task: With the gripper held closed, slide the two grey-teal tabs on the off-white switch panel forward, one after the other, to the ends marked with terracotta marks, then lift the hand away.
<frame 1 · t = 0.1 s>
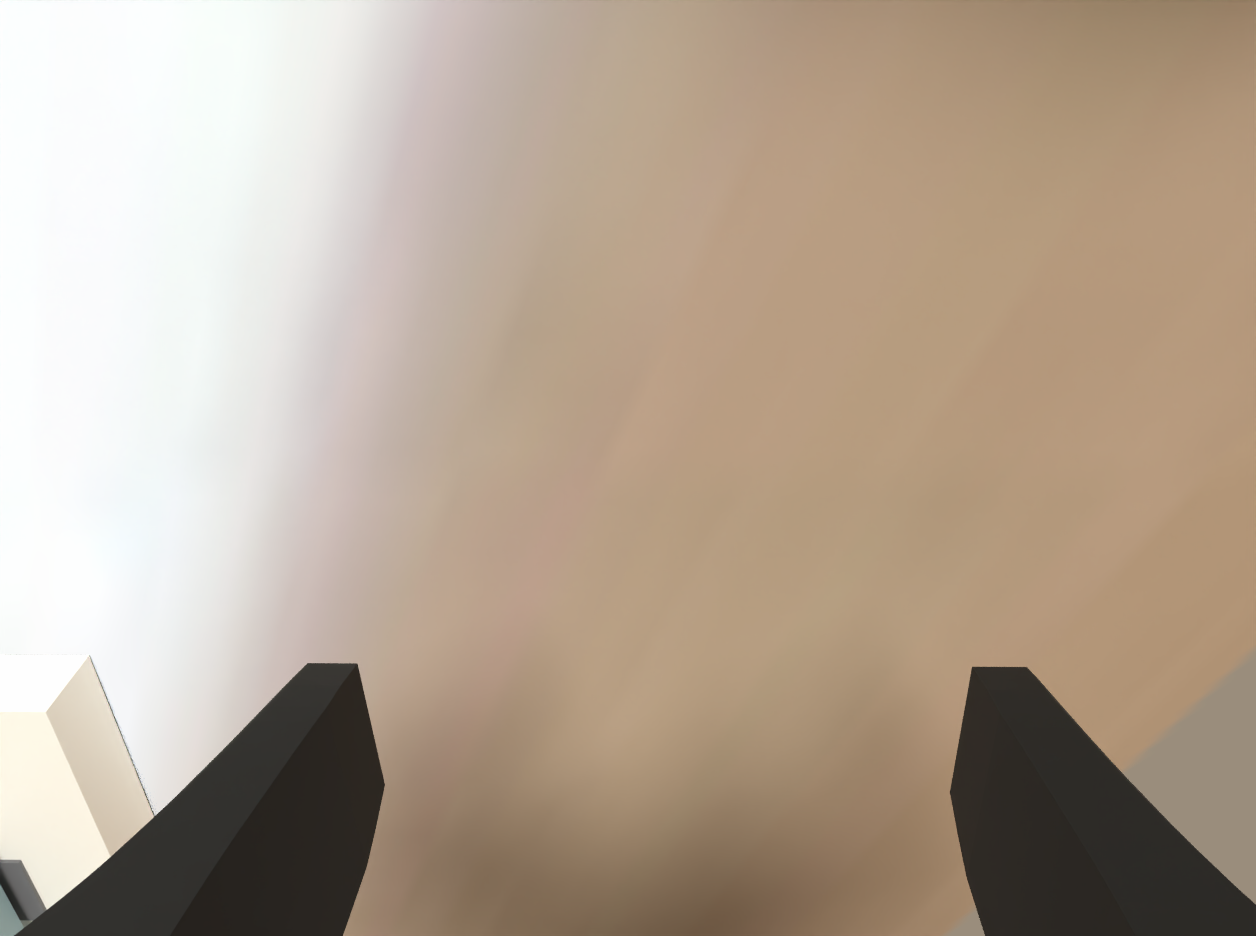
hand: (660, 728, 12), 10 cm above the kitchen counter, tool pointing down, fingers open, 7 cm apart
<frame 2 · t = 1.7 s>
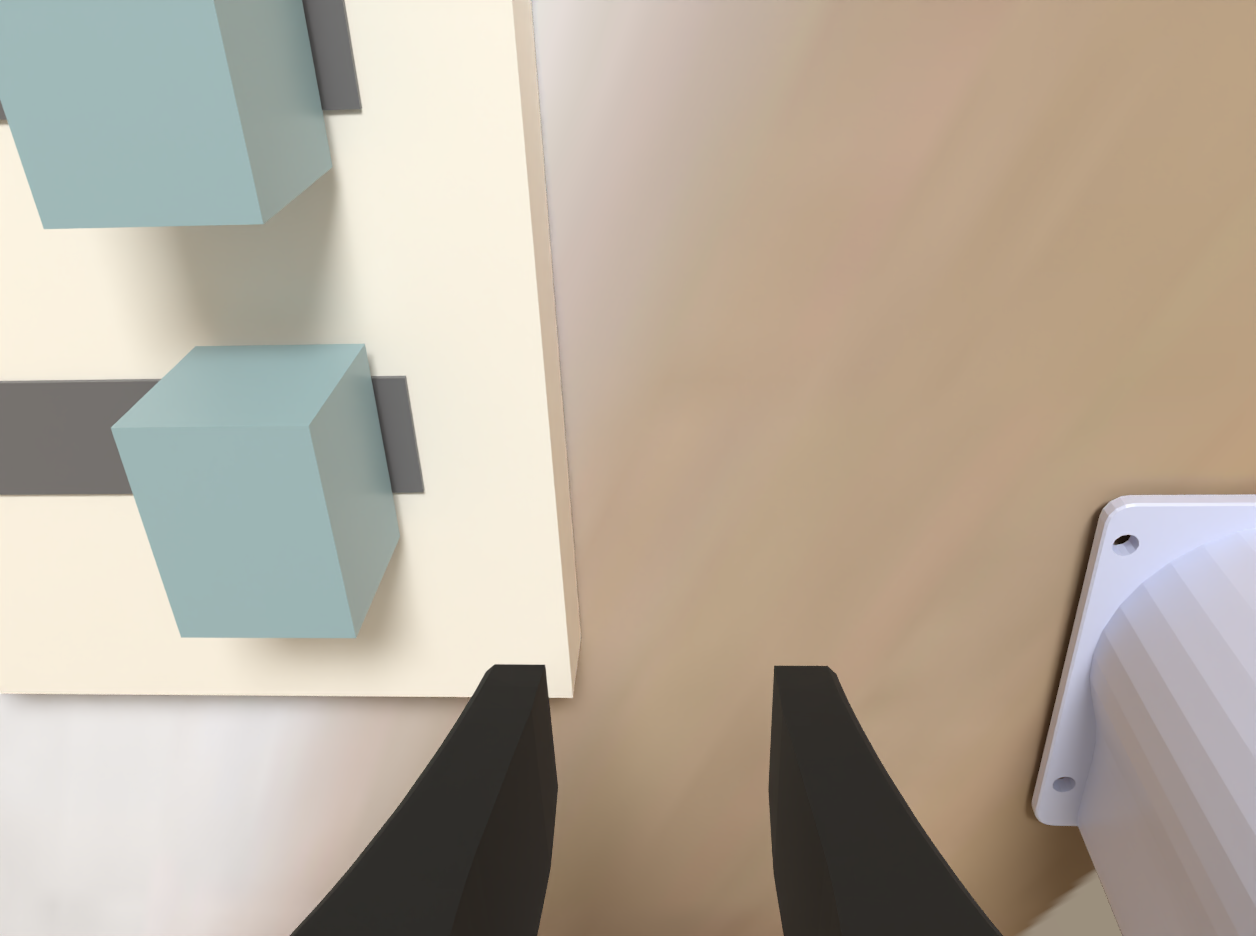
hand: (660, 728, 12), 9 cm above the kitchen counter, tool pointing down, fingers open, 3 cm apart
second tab: (162, 47, 14), point 4 cm above the kitchen counter, slide at 0.0 cm
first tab: (274, 489, 17), point 4 cm above the kitchen counter, slide at 0.0 cm
switch panel: (176, 221, 19), on the kitchen counter
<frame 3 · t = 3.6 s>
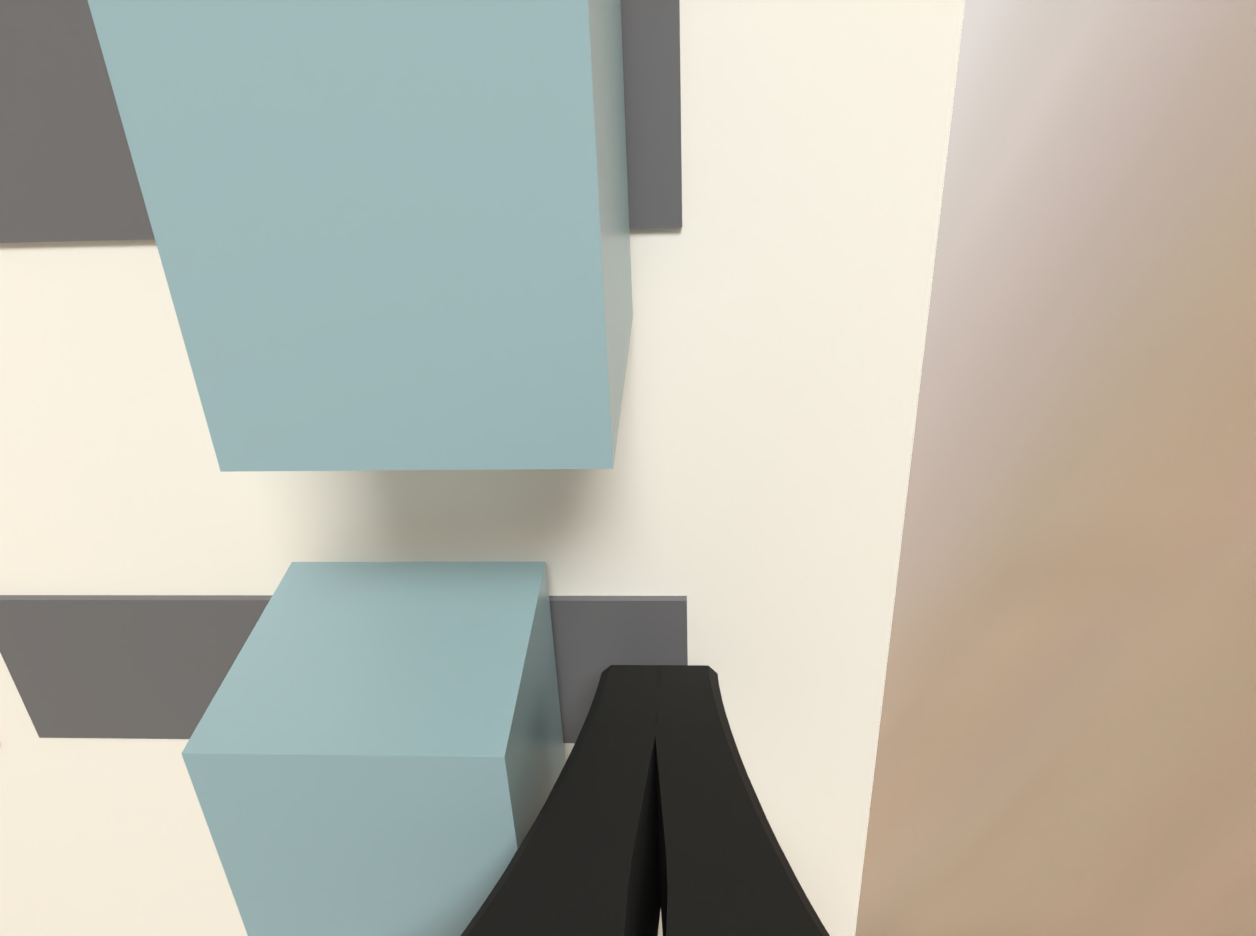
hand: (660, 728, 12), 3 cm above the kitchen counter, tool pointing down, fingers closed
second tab: (422, 151, 8), point 4 cm above the kitchen counter, slide at 0.0 cm
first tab: (412, 782, 11), point 4 cm above the kitchen counter, slide at 1.1 cm, touching gripper
switch panel: (339, 360, 13), on the kitchen counter
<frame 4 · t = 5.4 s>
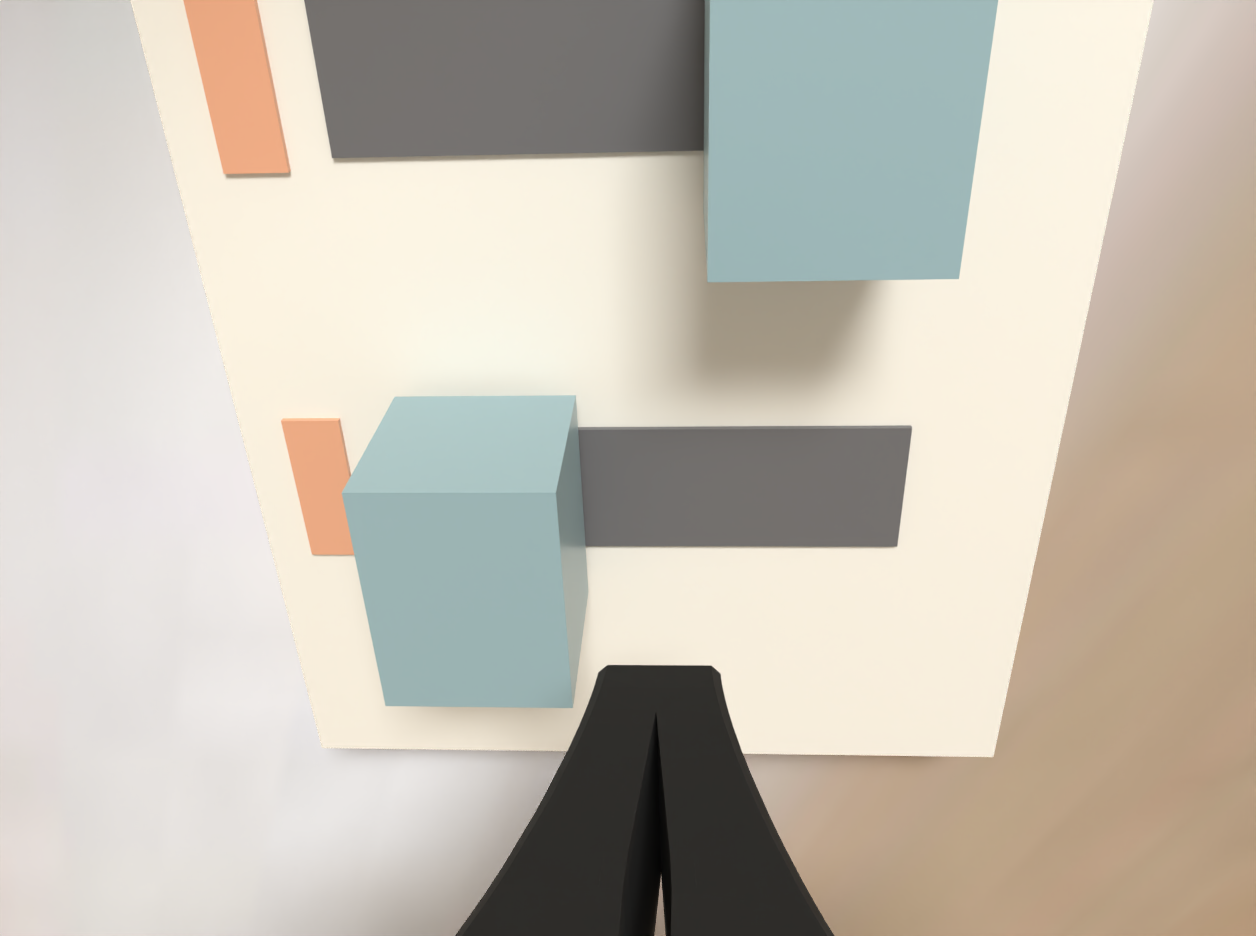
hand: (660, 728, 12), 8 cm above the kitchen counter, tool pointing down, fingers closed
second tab: (828, 83, 12), point 4 cm above the kitchen counter, slide at 0.0 cm
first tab: (481, 548, 16), point 4 cm above the kitchen counter, slide at 5.1 cm
switch panel: (643, 257, 18), on the kitchen counter
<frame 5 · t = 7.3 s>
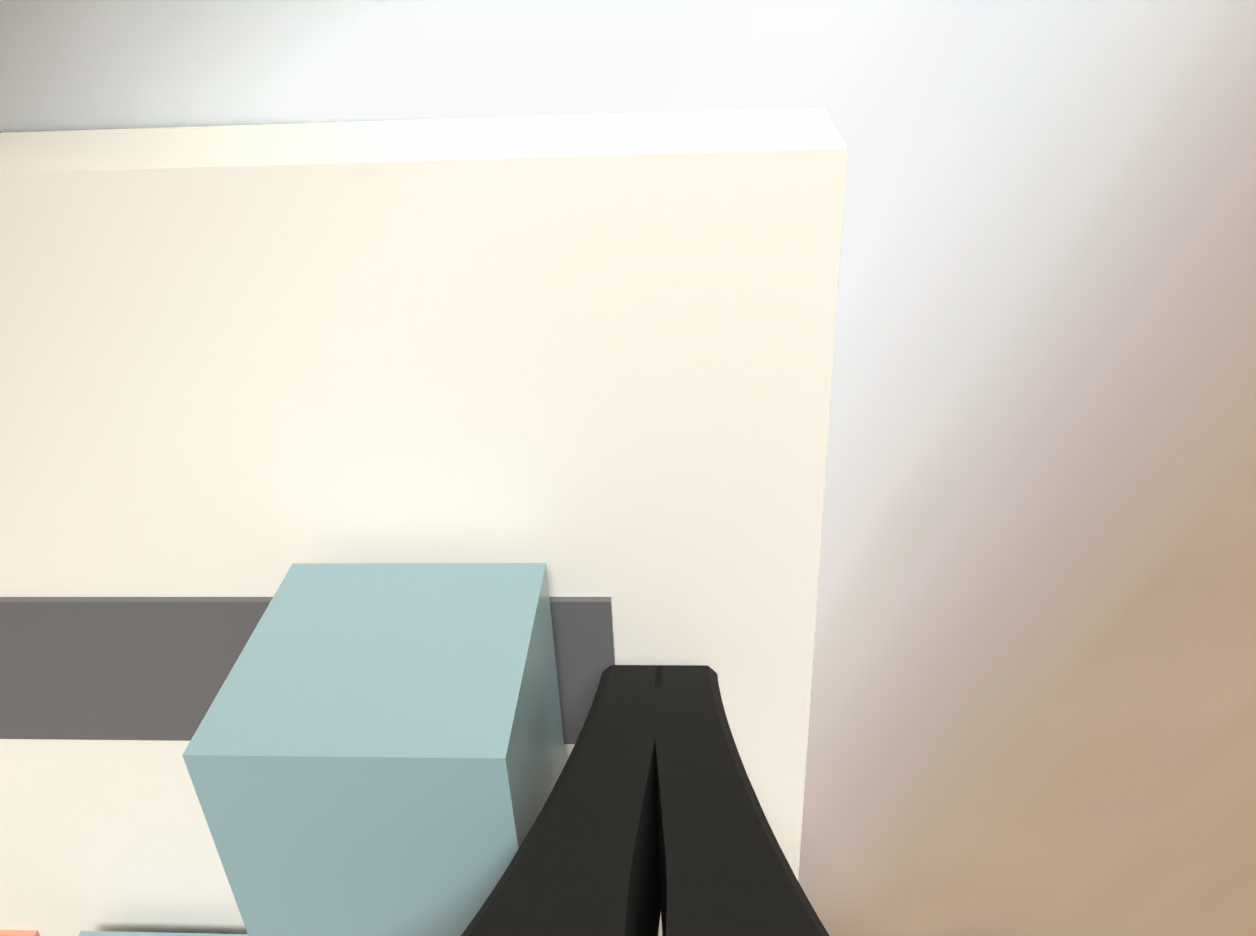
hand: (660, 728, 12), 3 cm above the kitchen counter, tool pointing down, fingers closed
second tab: (413, 783, 11), point 4 cm above the kitchen counter, slide at 0.2 cm, touching gripper
switch panel: (362, 748, 17), on the kitchen counter
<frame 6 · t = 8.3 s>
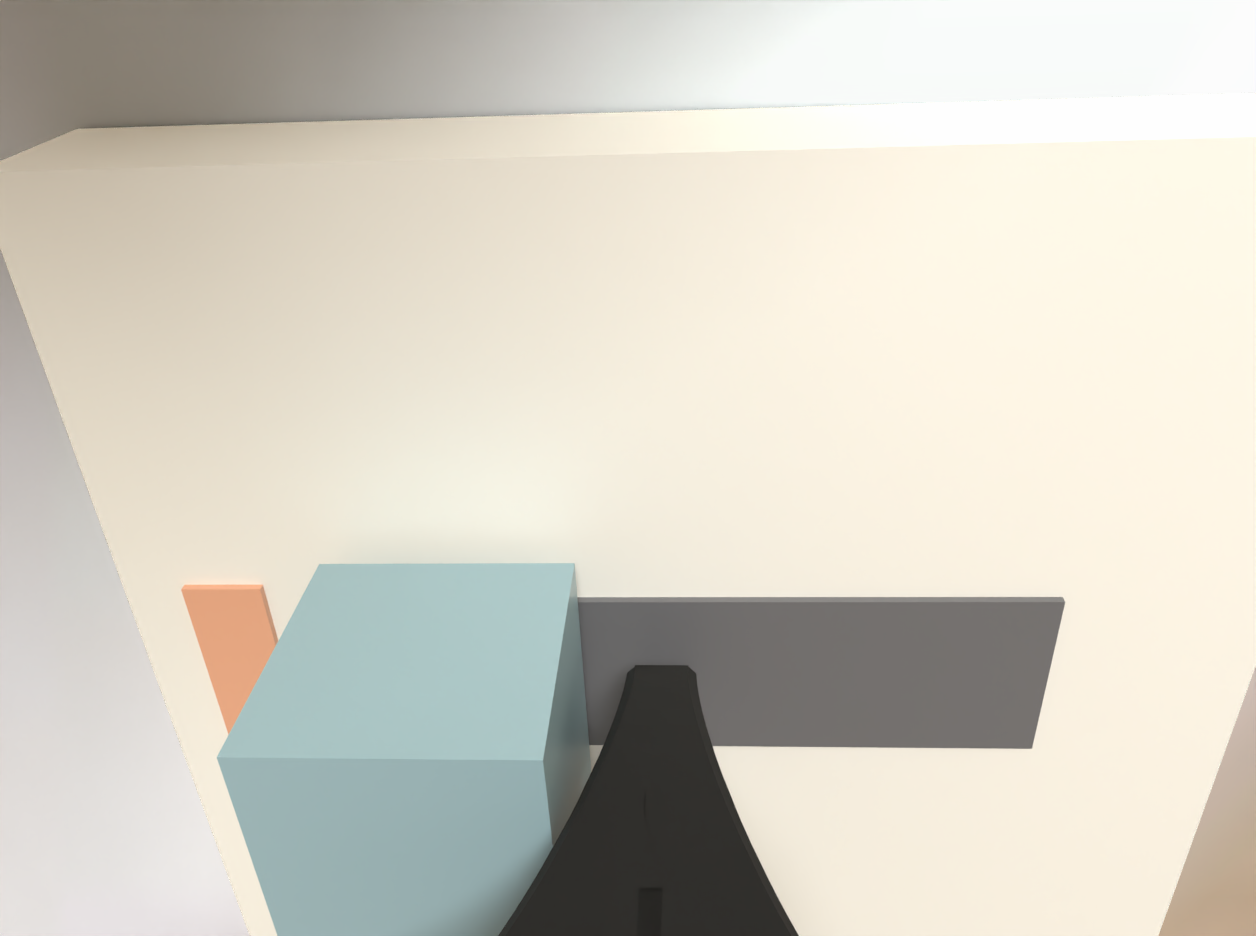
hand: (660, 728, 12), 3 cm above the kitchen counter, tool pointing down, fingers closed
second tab: (441, 785, 11), point 4 cm above the kitchen counter, slide at 5.2 cm, touching gripper
switch panel: (686, 752, 16), on the kitchen counter
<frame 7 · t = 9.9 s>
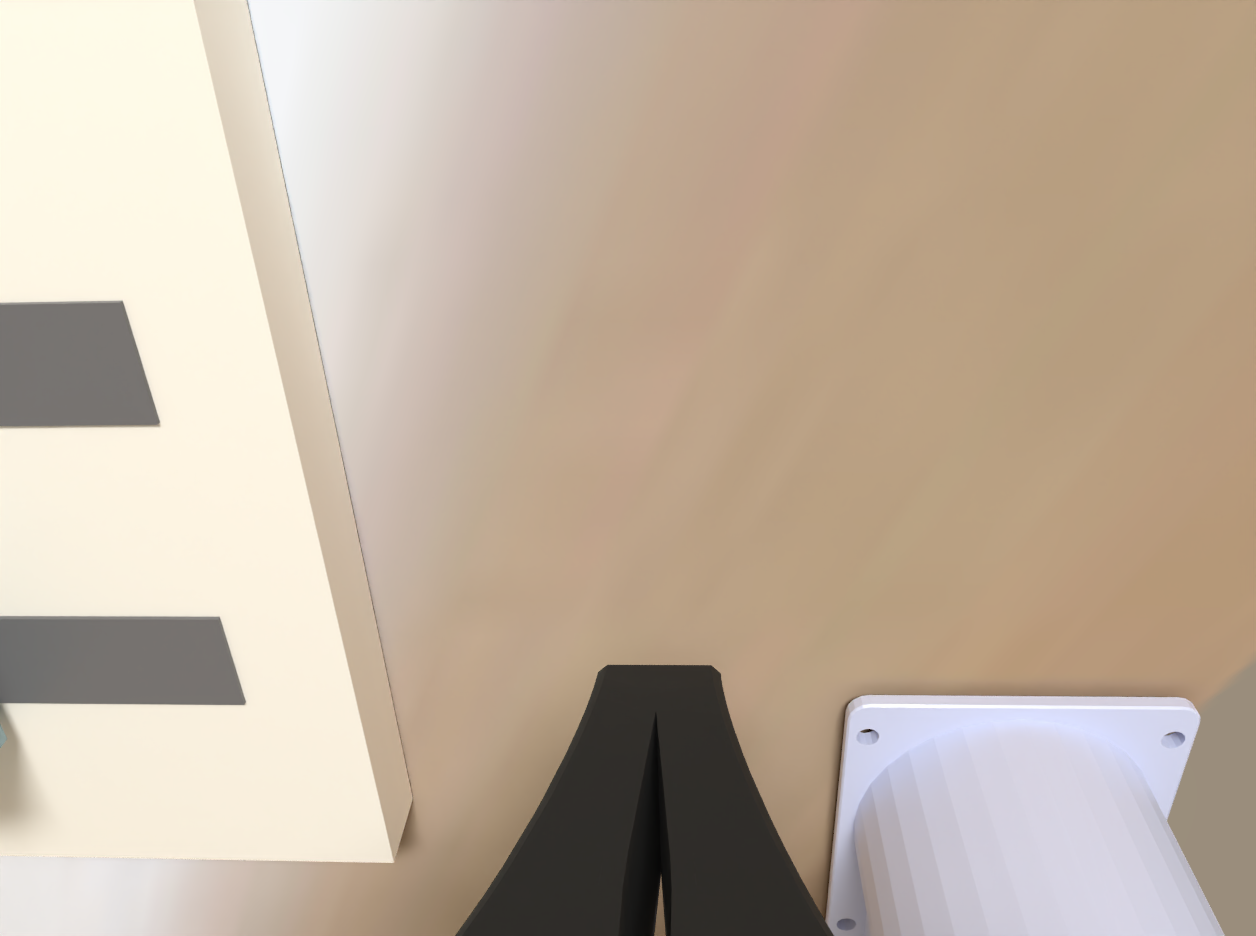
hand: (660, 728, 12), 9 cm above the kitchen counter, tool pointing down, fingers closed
switch panel: (29, 474, 22), on the kitchen counter
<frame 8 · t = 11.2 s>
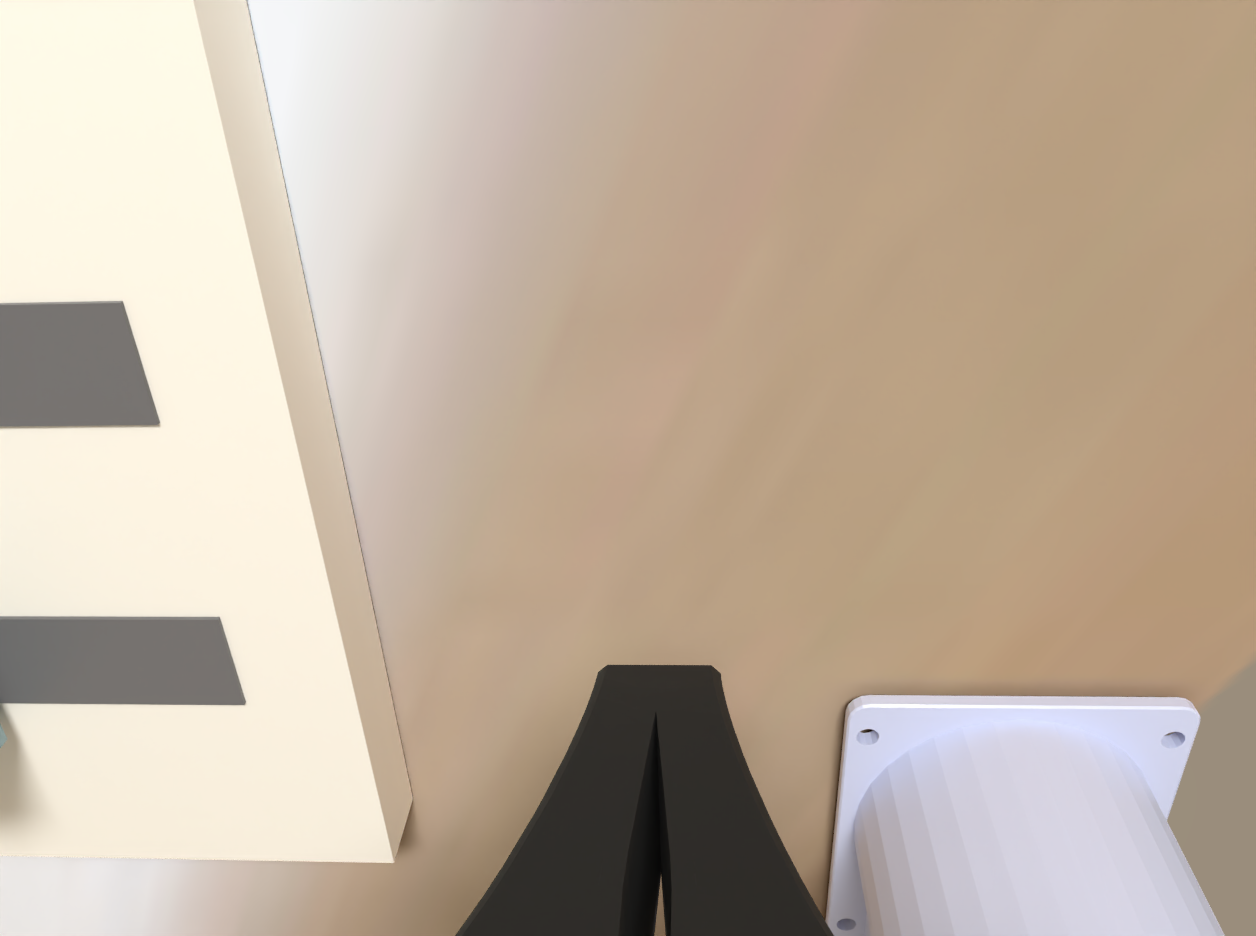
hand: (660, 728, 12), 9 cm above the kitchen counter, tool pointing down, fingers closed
switch panel: (29, 474, 22), on the kitchen counter
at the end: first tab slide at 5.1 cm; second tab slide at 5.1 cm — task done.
